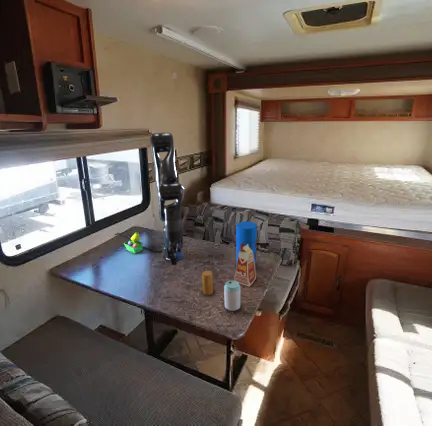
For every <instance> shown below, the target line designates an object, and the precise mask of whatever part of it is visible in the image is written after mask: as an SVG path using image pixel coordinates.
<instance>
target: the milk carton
mask: <svg viewBox="0 0 432 426" xmlns="http://www.w3.org/2000/svg"><path fill="white" fill-rule="evenodd" d="M233 280H234V281H237V282H238V283H239V285H243V286H246V287H251V286H252V284H253V283H254V282H255V280H257V273H256V265H255V263H254V256H253V251H252V250H251V249H250V248H249V247H248V244H247V245H246V246H244V247H243V249H242V250H240V251H239V255H238V259H237V264H236V267H235V272H234V277H233Z"/></svg>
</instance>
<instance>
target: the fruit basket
mask: <svg viewBox="0 0 432 426" xmlns="http://www.w3.org/2000/svg"><path fill="white" fill-rule="evenodd" d="M130 237H131V238H130V240H128V241H125V242H123V245H124V246H125V249H126V250H127V251H129V252H130V253H133V254H134V255H136V254H138V253H141V252H142V251H143V248H142V246H143V247H144V243H143V242H141V237H140V234H139V232H134V234H133V235H132V236H130Z"/></svg>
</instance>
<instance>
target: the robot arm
mask: <svg viewBox="0 0 432 426" xmlns="http://www.w3.org/2000/svg"><path fill="white" fill-rule="evenodd" d="M149 139H150V140H149V141H150V149H151V154H152V159H153V164H154V165H153V166H154V167H153V168H154V179H155V186H156V193H157V204H158V217H159V220H160V221H161V222H164V226H163V227H162V232H163V241H164V242H163V247H161V248H160V249H152V248H149V247H146V246H144V245H143V246H142V249H145V250H149V251H151V252H157V253H158V252H161V251H162V253H163V254H164V257H165V259H166V260H167V261H171V265H172V266H177V264H178V262H177V261H178V260H176V253H177V252H178V251H180V252H182V250H183V248H184V229H183V219H182V209H181V208H182V201H183V197H184V191H185V190H184V189H185V188H184V186H183V185H182V184H181V183H179V182H177V181H178V176H177V170H176V163H175V162H176V156H175V154H176V153H175V140H174V136H173V134H172V133H171V132H167V131H166V132H154V133H151V134H150V138H149ZM160 153H166V155H165V156H164V158H163V159H162V158H161V156H160ZM167 201H174V202H172V203H169V204H165V203H166V202H167ZM116 233H117V234H116ZM116 233H114V235H115V236H116V235H121V236H125V237H127V238H129V239H131V237H132V236H130V235H127V234H124V233H122V232H116Z"/></svg>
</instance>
